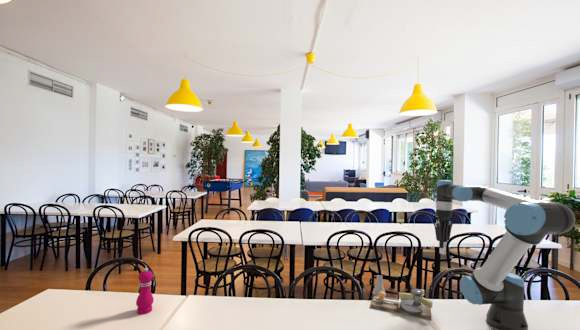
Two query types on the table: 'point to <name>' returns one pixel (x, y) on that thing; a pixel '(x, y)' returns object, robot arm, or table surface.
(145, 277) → the pepper mill
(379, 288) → the flask
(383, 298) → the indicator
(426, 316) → the board
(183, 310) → the table surface
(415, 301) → the cam capstan
